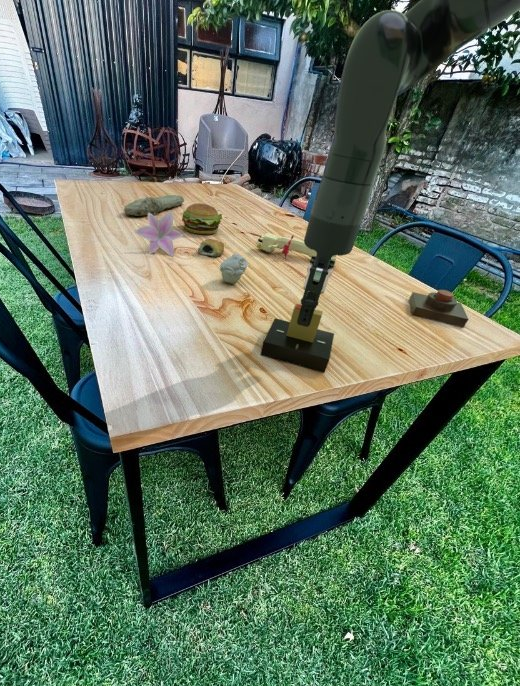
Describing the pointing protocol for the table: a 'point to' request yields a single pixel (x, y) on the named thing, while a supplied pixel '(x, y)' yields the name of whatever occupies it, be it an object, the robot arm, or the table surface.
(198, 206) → the food
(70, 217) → the table surface
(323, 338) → the plate
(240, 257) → the frog figurine
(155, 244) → the lily
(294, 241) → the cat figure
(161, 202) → the elongated rock
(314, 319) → the lock knob
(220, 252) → the pastry
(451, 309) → the brown base
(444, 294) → the bell button
